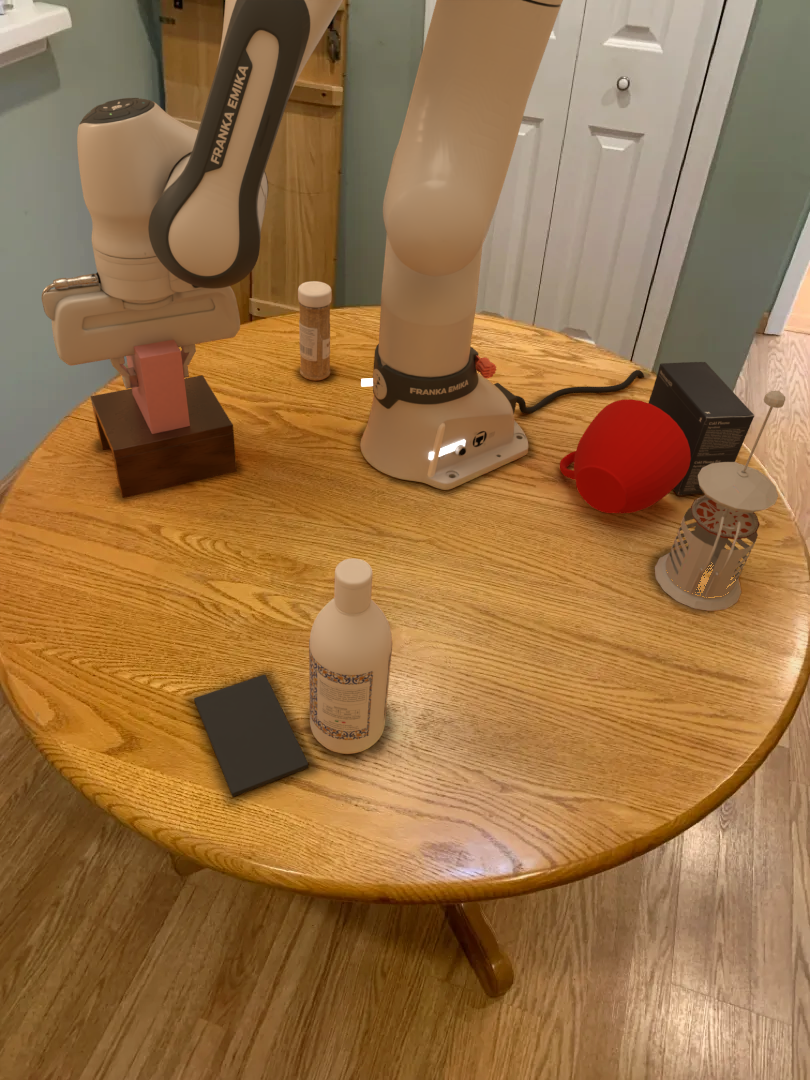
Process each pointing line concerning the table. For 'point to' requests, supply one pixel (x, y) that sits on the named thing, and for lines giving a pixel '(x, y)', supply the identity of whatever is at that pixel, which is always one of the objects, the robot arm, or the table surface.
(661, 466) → the ceramic cup
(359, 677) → the bath foam
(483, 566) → the table surface
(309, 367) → the sprinkles bottle
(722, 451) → the small box
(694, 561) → the french press
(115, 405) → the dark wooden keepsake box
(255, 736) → the mat
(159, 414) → the block
